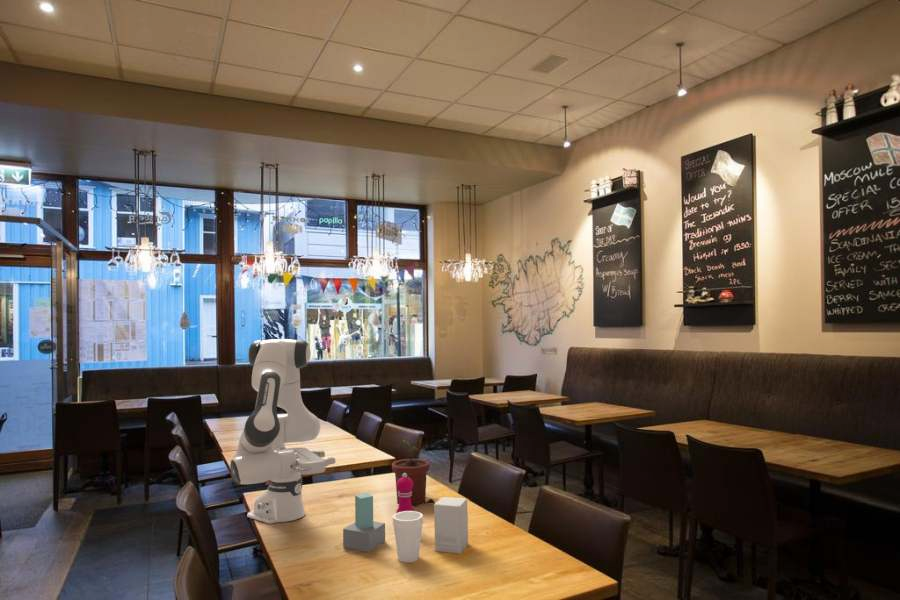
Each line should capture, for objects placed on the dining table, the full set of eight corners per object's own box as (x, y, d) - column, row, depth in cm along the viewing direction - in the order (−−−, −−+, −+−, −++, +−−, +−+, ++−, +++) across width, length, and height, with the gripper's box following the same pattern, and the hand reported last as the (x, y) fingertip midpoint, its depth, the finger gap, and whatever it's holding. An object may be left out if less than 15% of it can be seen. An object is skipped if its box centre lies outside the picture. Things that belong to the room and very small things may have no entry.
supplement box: (469, 543, 186) (468, 498, 187) (460, 554, 177) (460, 506, 178) (443, 540, 189) (442, 495, 190) (434, 551, 180) (433, 503, 181)
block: (360, 529, 184) (360, 498, 184) (355, 525, 188) (355, 495, 188) (373, 526, 186) (373, 496, 187) (367, 522, 190) (367, 492, 191)
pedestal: (343, 547, 184) (343, 528, 185) (360, 536, 193) (360, 519, 194) (368, 552, 180) (368, 533, 180) (385, 541, 189) (385, 523, 189)
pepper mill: (412, 534, 195) (411, 476, 196) (392, 532, 197) (392, 475, 198) (417, 526, 202) (417, 470, 203) (398, 525, 204) (398, 470, 205)
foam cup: (411, 566, 169) (411, 523, 169) (387, 560, 174) (386, 517, 174) (429, 555, 177) (428, 513, 177) (405, 549, 182) (405, 509, 182)
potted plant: (381, 502, 232) (381, 441, 233) (419, 490, 247) (418, 433, 249) (410, 511, 220) (410, 447, 221) (448, 498, 235) (447, 438, 237)
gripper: (297, 460, 166) (341, 454, 173) (277, 446, 183) (318, 441, 190) (297, 482, 165) (341, 474, 173) (277, 466, 183) (318, 459, 190)
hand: (329, 456), depth 182 cm, fingers open, 8 cm apart
